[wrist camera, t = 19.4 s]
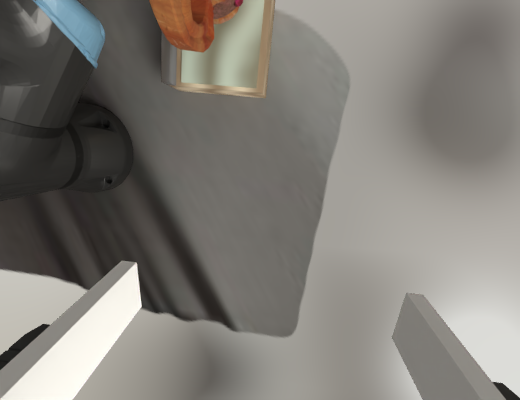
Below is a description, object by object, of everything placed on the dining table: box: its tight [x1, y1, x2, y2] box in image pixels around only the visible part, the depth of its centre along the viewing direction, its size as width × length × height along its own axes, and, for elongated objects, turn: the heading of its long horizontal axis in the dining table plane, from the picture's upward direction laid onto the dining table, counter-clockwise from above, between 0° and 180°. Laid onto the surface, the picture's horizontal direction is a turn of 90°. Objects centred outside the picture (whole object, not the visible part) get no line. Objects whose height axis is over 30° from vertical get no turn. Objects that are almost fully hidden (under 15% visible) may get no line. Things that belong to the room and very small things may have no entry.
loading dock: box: [161, 0, 275, 98], centre depth 34 cm, size 14×18×6 cm
